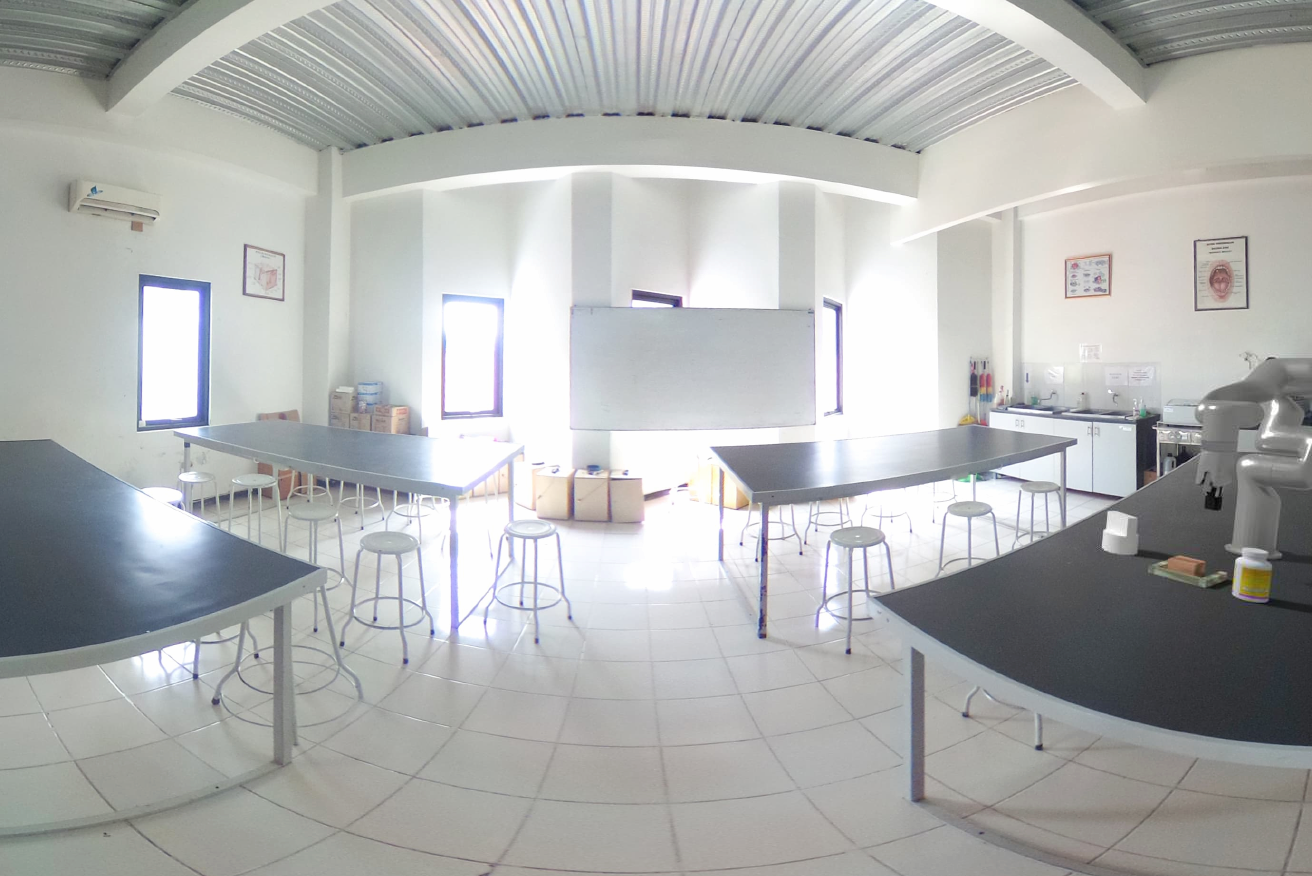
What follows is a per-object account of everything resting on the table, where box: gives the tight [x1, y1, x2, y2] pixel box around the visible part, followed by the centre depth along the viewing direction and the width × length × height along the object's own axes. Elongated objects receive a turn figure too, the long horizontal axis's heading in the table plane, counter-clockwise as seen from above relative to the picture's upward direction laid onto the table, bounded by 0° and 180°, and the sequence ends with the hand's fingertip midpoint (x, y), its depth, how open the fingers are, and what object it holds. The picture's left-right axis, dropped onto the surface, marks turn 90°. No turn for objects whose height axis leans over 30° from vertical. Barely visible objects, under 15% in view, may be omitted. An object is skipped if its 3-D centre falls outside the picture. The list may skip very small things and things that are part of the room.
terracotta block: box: [1167, 555, 1206, 578], centre depth 164 cm, size 6×6×5 cm
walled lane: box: [1147, 559, 1228, 588], centre depth 164 cm, size 12×13×2 cm
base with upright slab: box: [1101, 510, 1140, 556], centre depth 186 cm, size 9×9×12 cm
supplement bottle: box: [1231, 548, 1273, 604], centre depth 148 cm, size 7×7×13 cm
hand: (1212, 509), depth 167 cm, fingers closed
